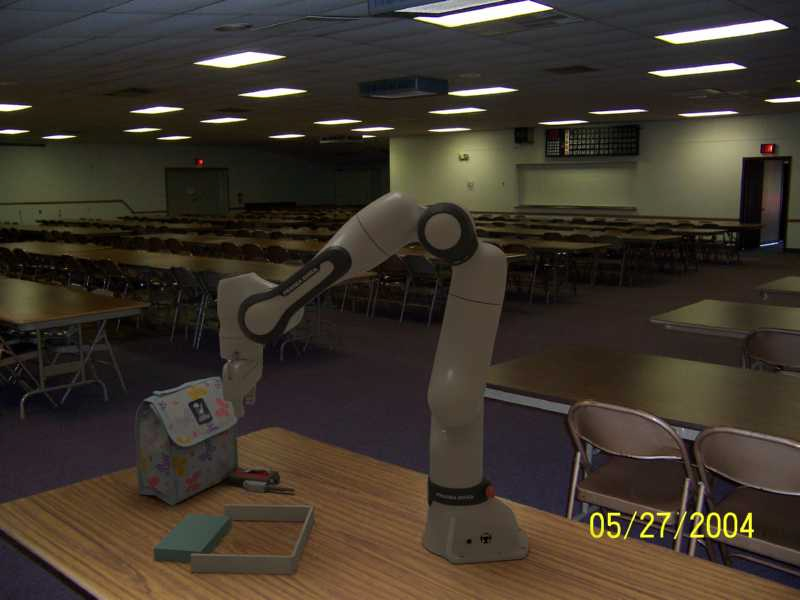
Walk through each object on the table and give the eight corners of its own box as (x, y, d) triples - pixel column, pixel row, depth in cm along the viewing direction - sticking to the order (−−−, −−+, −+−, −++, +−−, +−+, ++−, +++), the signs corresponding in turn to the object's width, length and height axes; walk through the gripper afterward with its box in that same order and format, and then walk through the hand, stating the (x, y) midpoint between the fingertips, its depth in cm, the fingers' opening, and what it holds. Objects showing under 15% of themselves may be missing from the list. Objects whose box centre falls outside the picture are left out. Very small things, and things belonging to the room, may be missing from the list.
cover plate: (231, 529, 159) (230, 516, 159) (201, 565, 144) (200, 551, 143) (188, 526, 161) (188, 513, 160) (154, 562, 145) (153, 548, 145)
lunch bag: (178, 511, 167) (172, 401, 163) (131, 495, 176) (125, 390, 172) (247, 479, 186) (243, 379, 182) (201, 466, 195) (197, 371, 191)
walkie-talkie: (219, 489, 180) (293, 497, 175) (218, 472, 180) (292, 480, 175) (235, 476, 189) (306, 483, 184) (235, 460, 188) (306, 467, 183)
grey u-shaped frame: (314, 520, 162) (313, 505, 162) (294, 574, 139) (293, 557, 139) (225, 518, 163) (225, 504, 163) (191, 571, 140) (190, 555, 140)
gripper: (243, 358, 143) (248, 424, 145) (266, 337, 163) (269, 396, 165) (212, 358, 143) (217, 425, 145) (238, 338, 163) (242, 397, 165)
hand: (245, 410), depth 155 cm, fingers open, 8 cm apart
